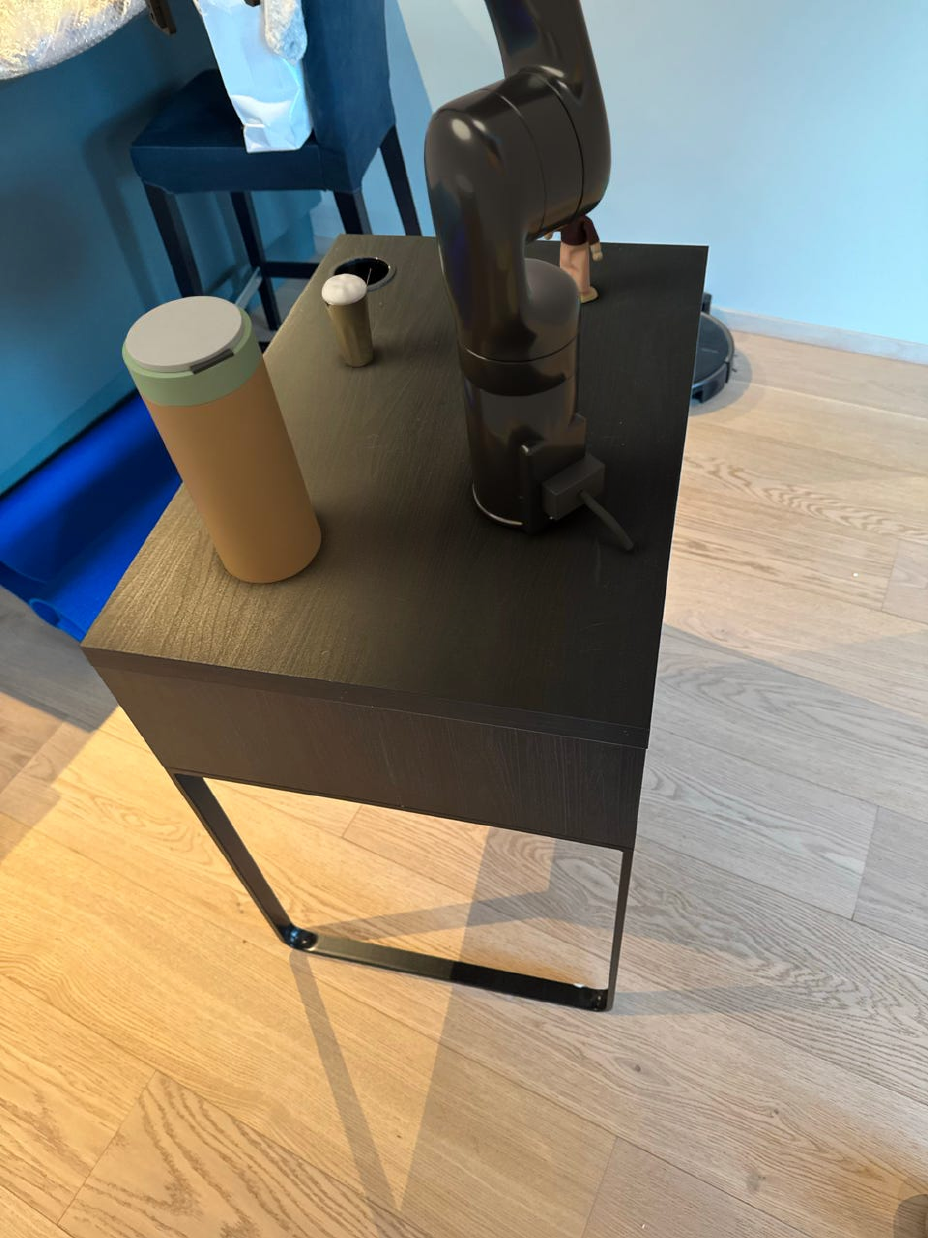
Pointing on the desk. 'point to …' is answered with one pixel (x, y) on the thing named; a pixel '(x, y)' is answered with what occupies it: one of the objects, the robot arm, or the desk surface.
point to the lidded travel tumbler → (225, 434)
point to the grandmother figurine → (579, 253)
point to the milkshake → (350, 317)
